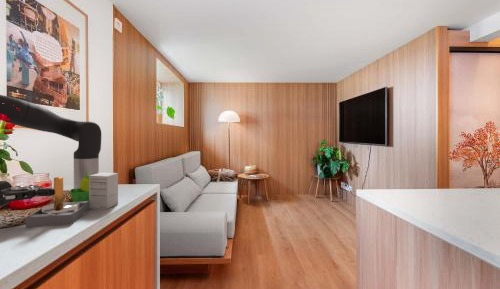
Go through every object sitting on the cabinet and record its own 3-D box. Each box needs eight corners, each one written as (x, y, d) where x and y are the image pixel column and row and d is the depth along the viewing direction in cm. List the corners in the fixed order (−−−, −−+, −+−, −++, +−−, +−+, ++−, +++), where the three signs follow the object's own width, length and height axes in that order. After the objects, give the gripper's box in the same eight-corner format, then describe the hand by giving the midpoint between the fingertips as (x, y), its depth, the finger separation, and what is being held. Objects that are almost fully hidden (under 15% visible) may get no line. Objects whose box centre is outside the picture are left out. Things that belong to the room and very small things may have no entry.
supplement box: (100, 203, 100) (100, 172, 99) (118, 203, 99) (118, 172, 99) (88, 208, 92) (88, 175, 92) (107, 209, 92) (107, 175, 92)
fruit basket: (103, 197, 108) (103, 172, 107) (103, 202, 100) (103, 175, 100) (71, 201, 102) (71, 174, 101) (69, 206, 94) (69, 177, 94)
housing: (51, 211, 88) (51, 197, 88) (89, 208, 92) (89, 195, 92) (25, 227, 73) (25, 210, 73) (72, 224, 76) (72, 208, 76)
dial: (46, 209, 84) (46, 174, 84) (81, 206, 89) (81, 172, 89) (37, 218, 75) (37, 179, 75) (77, 214, 80) (76, 177, 80)
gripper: (-33, 185, 67) (42, 184, 72) (1, 177, 80) (63, 176, 84) (-33, 213, 67) (42, 209, 72) (1, 200, 80) (63, 198, 85)
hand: (54, 191), depth 78 cm, fingers closed
